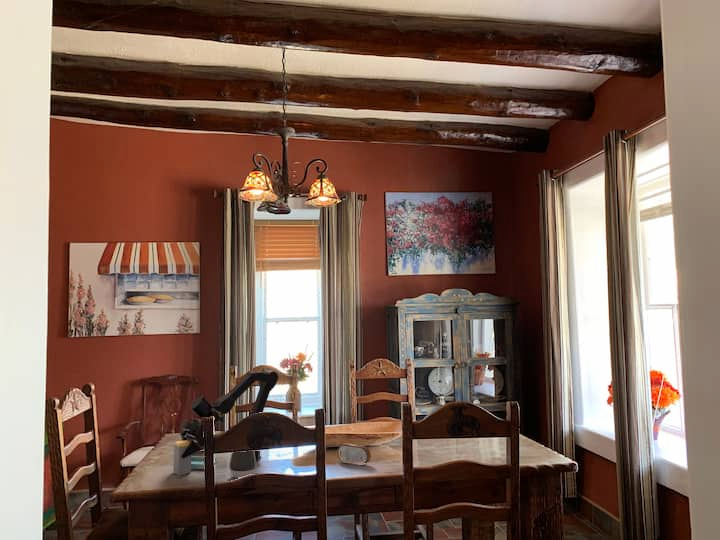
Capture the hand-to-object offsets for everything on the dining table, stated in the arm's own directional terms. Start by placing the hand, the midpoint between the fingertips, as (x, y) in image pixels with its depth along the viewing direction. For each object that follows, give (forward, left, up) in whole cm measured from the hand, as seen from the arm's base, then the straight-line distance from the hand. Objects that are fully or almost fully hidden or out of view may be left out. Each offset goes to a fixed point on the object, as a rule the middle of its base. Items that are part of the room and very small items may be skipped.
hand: (179, 456), depth 206 cm
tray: (-3, -12, -7) cm, 14 cm away
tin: (-67, -23, -7) cm, 72 cm away
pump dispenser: (-26, +1, -7) cm, 27 cm away
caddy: (-1, -1, -7) cm, 7 cm away
